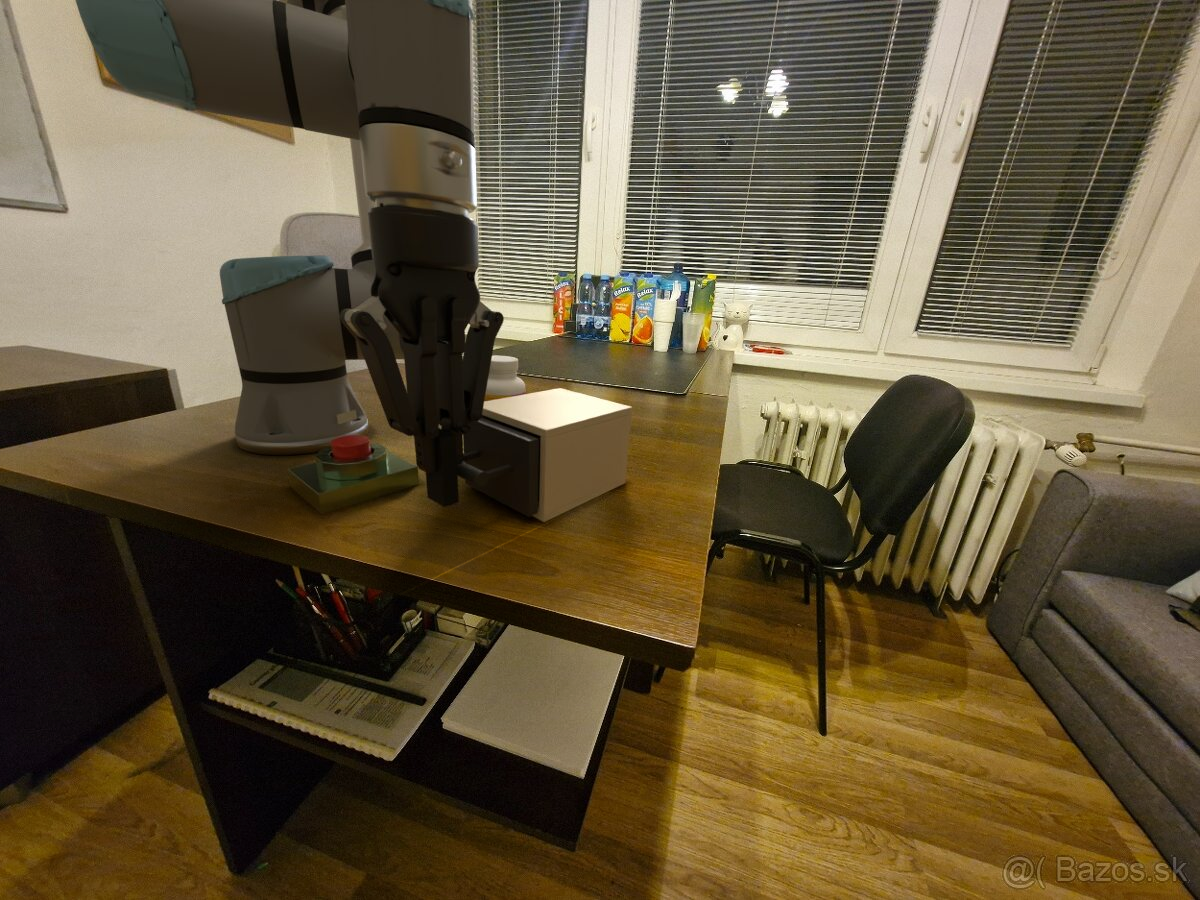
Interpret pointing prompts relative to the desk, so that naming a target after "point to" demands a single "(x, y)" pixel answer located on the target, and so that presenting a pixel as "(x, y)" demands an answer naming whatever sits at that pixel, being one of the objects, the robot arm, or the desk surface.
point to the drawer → (503, 464)
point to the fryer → (570, 444)
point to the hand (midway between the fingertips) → (443, 499)
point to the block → (351, 478)
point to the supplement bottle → (503, 379)
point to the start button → (351, 447)
